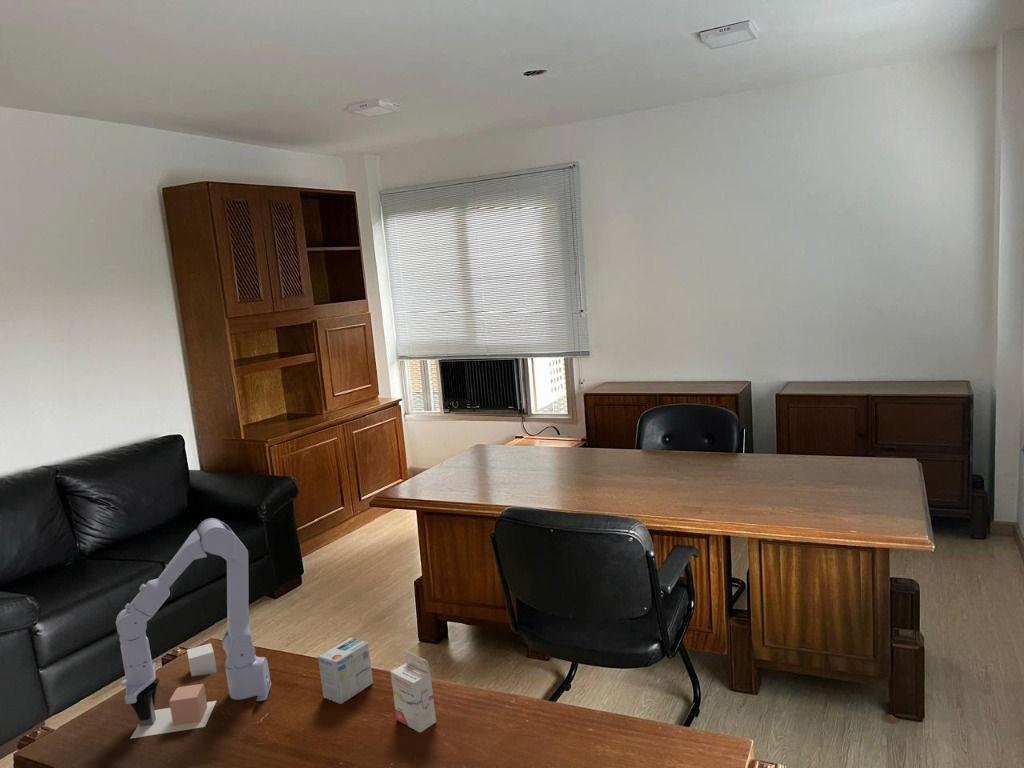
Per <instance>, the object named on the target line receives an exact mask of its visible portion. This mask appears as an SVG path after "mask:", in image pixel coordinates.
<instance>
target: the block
mask: <svg viewBox="0 0 1024 768" xmlns="http://www.w3.org/2000/svg"><path fill="white" fill-rule="evenodd" d="M207 702H208V701H207V695H206V691H205V684H204V683H200V684H198V683H197V684H192V685H191V684H190V685H186V686H185V685H184V686H179V687H177V688H176V689H175V690H174V692H173V693H172V696H171V697H170V699H169V701H168V703H169V708H170V709H171V715H172V721H173V726H176V725H182V724H189V723H195V722H201V720H202V718H203V716H204V714H205V712H206V709H207Z"/></svg>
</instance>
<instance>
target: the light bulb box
mask: <svg viewBox="0 0 1024 768" xmlns="http://www.w3.org/2000/svg"><path fill="white" fill-rule="evenodd" d="M317 660H318V667H319V675H320V681H321V688H322V694H323V698H324V699H326V698H327V699H326V700H329V701H331V700H332V702H334V703H337V704H339V705H342V704H344V703H346V702H347V701H348V700H350V699H352V698H353V697H354V696H356V695H358V694H359V693H360V692H362V691H364V690H365V689H367V688H368V687H369V686H371V685H372V684H373V683H374V680H373V670H372V663H371V656H370V649H369V642H368V641H364V640H360V639H356V638H354V637H348V638H346V639H345V640H343V641H342V642H339V644H337V645H335V646H334V647H332V648H331V649H328V650H327V651H325V652H324V653H321V654H319V655H318V656H317Z"/></svg>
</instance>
